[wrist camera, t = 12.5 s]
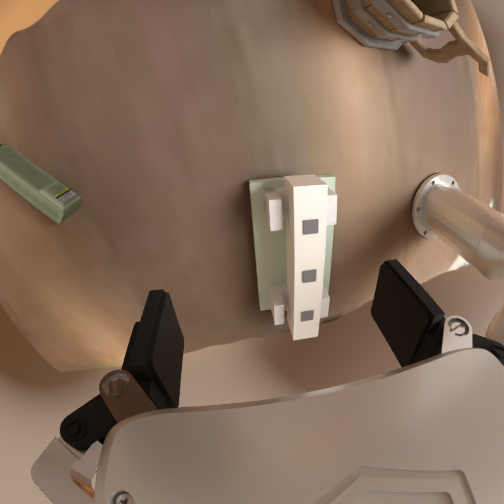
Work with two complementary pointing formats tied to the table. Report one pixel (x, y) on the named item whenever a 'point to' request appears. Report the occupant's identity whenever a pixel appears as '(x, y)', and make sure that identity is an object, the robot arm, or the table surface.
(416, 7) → the tankard
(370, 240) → the table surface
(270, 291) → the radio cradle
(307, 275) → the power strip
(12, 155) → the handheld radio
